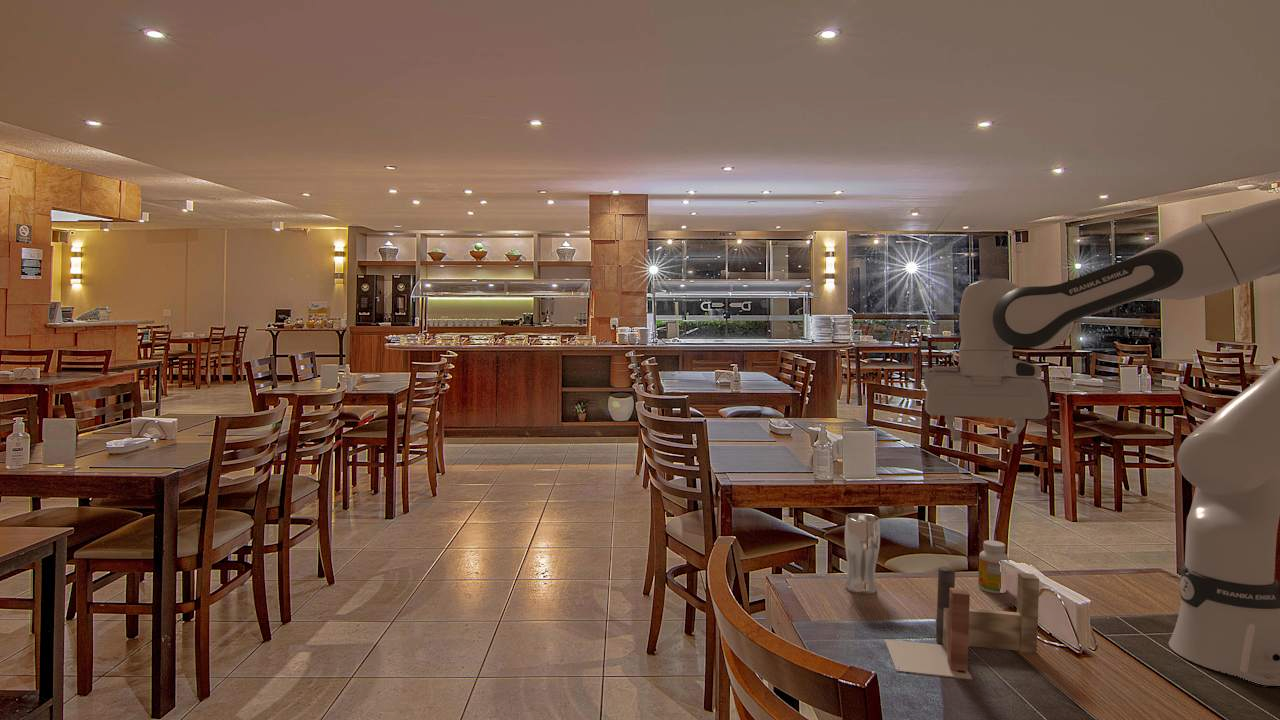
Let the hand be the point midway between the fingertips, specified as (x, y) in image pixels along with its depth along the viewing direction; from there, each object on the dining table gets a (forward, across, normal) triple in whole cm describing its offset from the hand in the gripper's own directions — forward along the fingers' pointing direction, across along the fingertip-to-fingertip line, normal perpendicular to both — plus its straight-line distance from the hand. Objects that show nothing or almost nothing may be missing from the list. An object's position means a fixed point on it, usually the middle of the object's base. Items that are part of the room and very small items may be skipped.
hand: (983, 442), depth 123 cm
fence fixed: (+34, -1, -10) cm, 35 cm away
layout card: (+34, -12, -18) cm, 40 cm away
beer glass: (+32, -20, +11) cm, 40 cm away
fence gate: (+34, -8, -17) cm, 38 cm away
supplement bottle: (+32, +6, +19) cm, 38 cm away
